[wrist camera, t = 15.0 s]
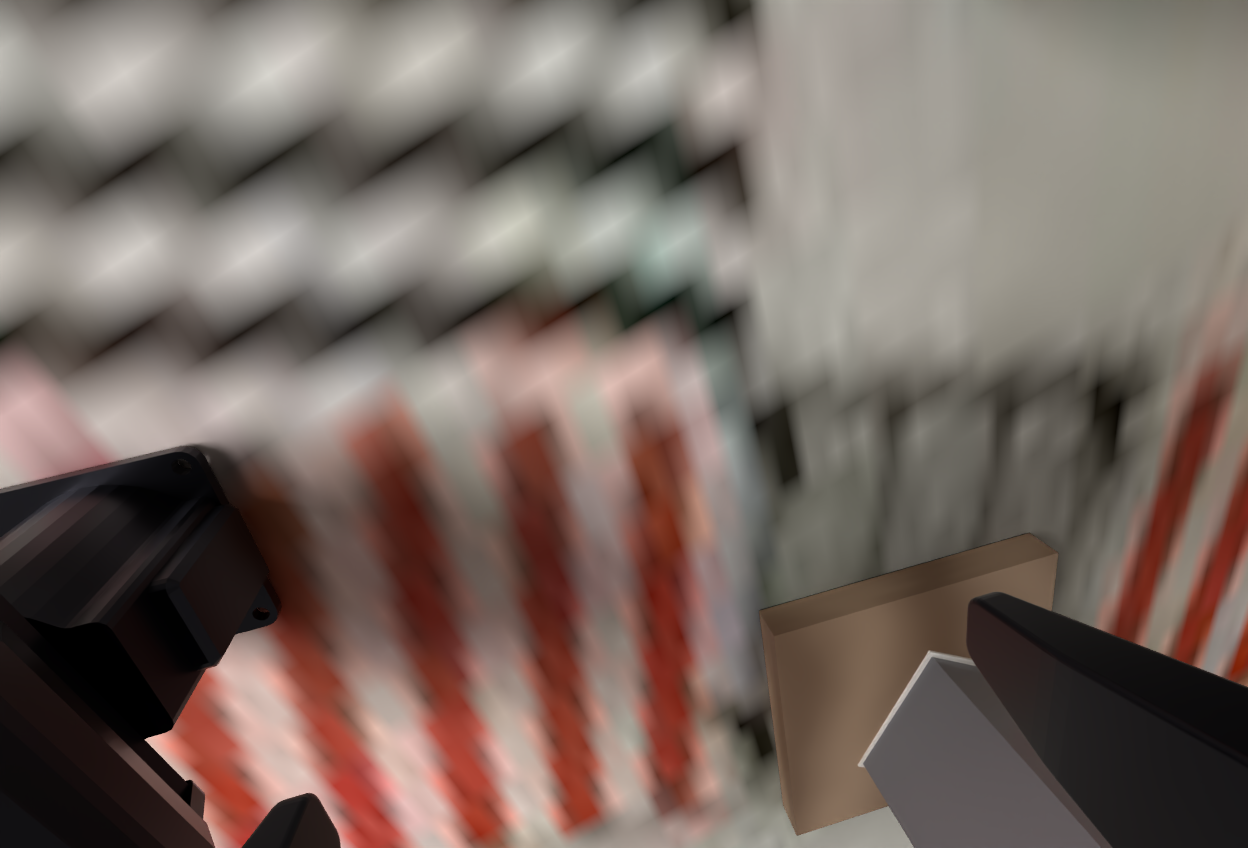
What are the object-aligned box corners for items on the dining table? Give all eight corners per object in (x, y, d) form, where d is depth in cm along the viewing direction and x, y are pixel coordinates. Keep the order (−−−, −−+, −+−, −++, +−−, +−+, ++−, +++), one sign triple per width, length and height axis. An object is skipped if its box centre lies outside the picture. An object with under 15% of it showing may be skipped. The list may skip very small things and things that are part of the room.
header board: (783, 805, 30) (824, 895, 26) (759, 610, 25) (804, 688, 21) (1010, 732, 31) (1080, 809, 28) (1029, 533, 26) (1117, 593, 23)
